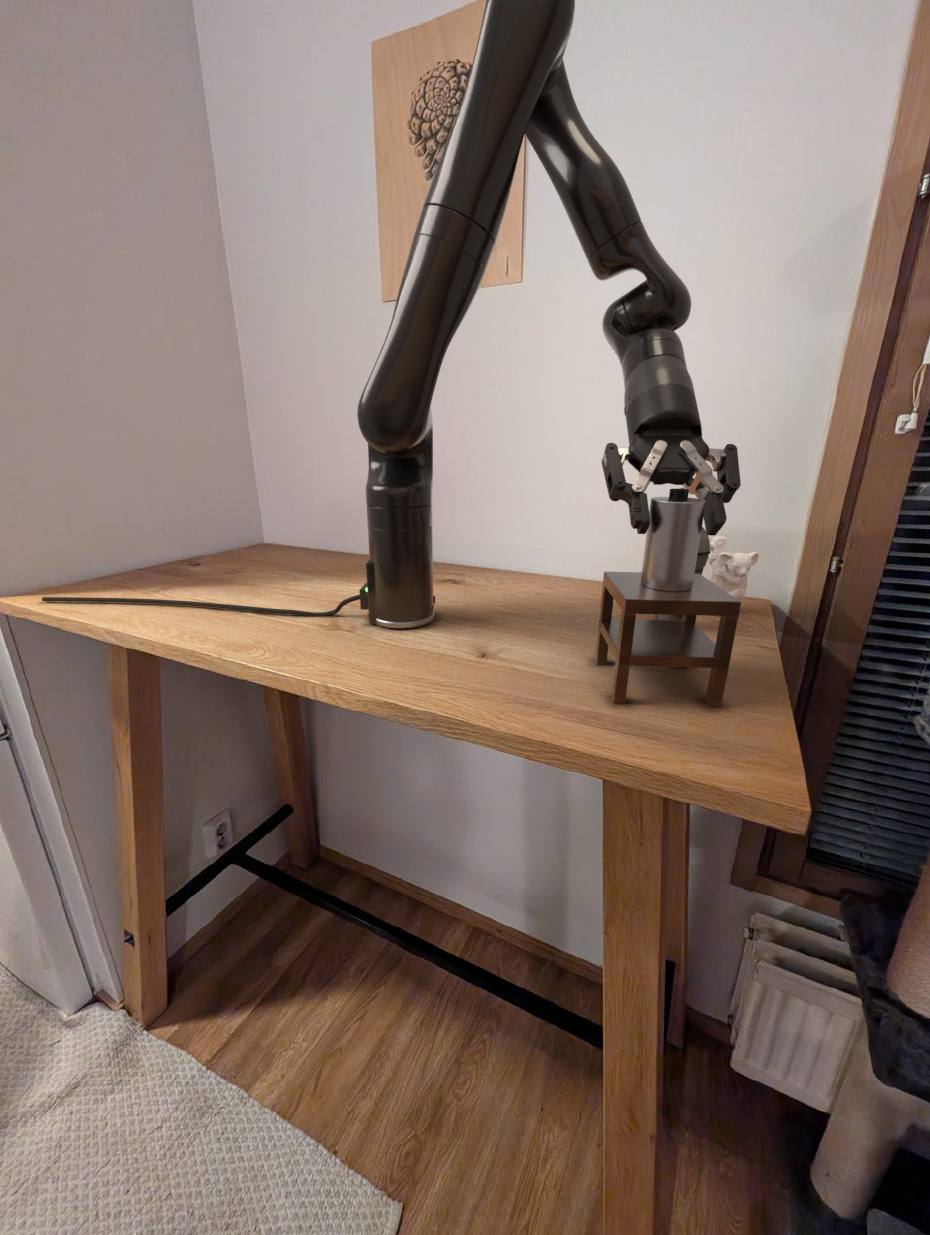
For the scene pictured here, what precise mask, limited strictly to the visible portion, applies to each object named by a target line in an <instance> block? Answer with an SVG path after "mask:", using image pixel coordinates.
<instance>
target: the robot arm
mask: <svg viewBox="0 0 930 1235" xmlns="http://www.w3.org/2000/svg"><path fill="white" fill-rule="evenodd" d="M575 12H576V0H485V7H484V10H483V15H482V20H481V25H480V29H479V34H478V39H477V42H476V47H475V51H474V56H473V59H472V60H473V61H472V63H471V68H470V72H469V76H468V79H467V83H466V87H465V90H464V94H463V97H462V100H461V102H460V103H461V104H460V106H459V107H458V108H459V109H458V112H457V114H456V117H455V119H454V122H453V124H452V127H451V129H450V132H449V134H448V137H447V139H446V142H445V144H444V147H443V150H442V151H441V154H440V157H439V160H438V163H437V166H436V169H435V171H434V174H433V177H432V180H431V183H430V185H429V188H428V191H427V195H426V196H425V199H424V203H423V205H422V209H421V211H420V215H419V217H418V221H417V224H416V227H415V230H414V234H413V237H412V240H411V243H410V248H409V251H408V255H407V259H406V262H405V266H404V269H403V273H402V277H401V281H400V284H399V287H398V293H397V296H396V301H395V305H394V309H393V314H392V318H391V322H390V324H389V327H388V331H387V334H386V336H385V339H384V342H383V343H382V346H381V349H380V351H379V353H378V356H377V358H376V361H375V363H374V364H373V368H372V370H371V372H370V374H369V377H368V379H367V381H366V383H365V386H364V388H363V390H362V392H361V395H360V398H359V400H358V404H357V412H356V413H357V414H356V417H357V424H358V428H359V430H360V433H361V435H362V437H363V439H364V440H365V441H366V442H367V457H368V469H367V479H366V483H365V503H366V518H367V519H366V520H367V521H366V523H367V537H368V539H367V540H368V554H369V555H368V557H369V558H368V559H366V561H365V573H366V582H365V583H364V584H363V585H362V586H361V587H360V589H359V594H357V595H354V596H350V597H348V598H345V599H344V600H342V601H341V602H339V603H338V605H337V606H336V607H335V608H334V609H332V610H329V611H323V612H315V611H314V612H312V611H305V610H296V609H287V608H286V609H283V608H272V607H260V606H250V605H239V604H229V603H227V604H226V603H216V602H203V601H191V600H190V601H189V600H175V599H161V598H160V599H158V598H157V599H156V598H136V597H135V598H134V597H133V598H132V597H87V596H85V597H83V596H79V597H78V596H42V597H41V601H42V602H63V603H64V602H65V603H66V602H68V603H69V602H71V603H72V602H77V603H78V602H79V603H85V602H86V603H123V604H124V603H127V604H128V603H129V604H153V605H154V604H155V605H156V604H157V605H172V606H188V607H200V608H201V607H202V608H211V609H212V608H213V609H225V610H234V611H235V610H236V611H246V612H256V613H257V612H258V613H266V614H276V615H277V614H278V615H292V616H302V617H313V618H314V617H320V618H321V617H331V616H334V615H337V614H338V613H339V612H340V611H341V610H342V609H343V607H345V606H346V605H347V604H350V603H353V602H355V601H359V604H360V605H359V606H360V610H368V624H369V625H376V626H380V627H383V628H387V629H401V630H403V629H413V628H419V627H423V626H426V625H428V624H430V623H432V622H433V621H434V620H435V610H434V609H435V605H436V596H435V595H434V543H433V542H434V540H433V539H434V538H433V536H434V533H433V532H434V530H433V484H434V423H433V422H434V421H433V411H432V408H431V406H432V403H433V402H432V401H433V397H434V393H435V390H436V386H437V382H438V378H439V374H440V371H441V369H442V365H443V361H444V359H445V356H446V353H447V351H448V349H449V347H450V344H451V342H452V341H453V338H454V337H455V335H456V333H457V331H458V330H459V328H460V326H461V324H462V322H463V321H464V319H465V317H466V315H467V313H468V311H469V310H470V308H471V305H472V303H473V301H474V300H475V297H476V296H477V294H478V291H479V288H480V286H481V283H482V281H483V279H484V276H485V273H486V271H487V268H488V266H489V263H490V260H491V257H492V254H493V251H494V249H495V246H496V244H497V240H498V237H499V234H500V231H501V228H502V224H503V221H504V217H505V215H506V214H505V213H506V209H507V206H508V202H509V199H510V194H511V191H512V187H513V182H514V177H515V173H516V170H517V165H518V162H519V157H520V153H521V149H522V145H523V141H524V137H526V139H527V141H528V142H529V144H530V146H531V147H532V149H533V151H534V153H535V154H536V156H537V158H538V159H539V161H540V163H541V165H542V167H543V168H544V170H545V172H546V174H547V175H548V177H549V180H550V181H551V184H552V185H553V188H554V190H555V191H556V194H557V195H558V197H559V200H560V202H561V204H562V206H563V208H564V211H565V213H566V215H567V217H568V220H569V222H570V224H571V226H572V229H573V231H574V233H575V236H576V238H577V240H578V243H579V245H580V247H581V250H582V251H583V254H584V256H585V259H586V260H587V263H588V265H589V267H590V270H591V271H592V274H593V275H594V277H595V278H596V279H597V280H598V281H608V280H611V279H613V278H615V277H618V276H619V275H622V274H624V273H626V272H630V271H636V272H639V273H640V274H642V275H643V276H644V278H645V280H644V281H642V282H641V283H639V284H638V285H636V286H635V287H633V288H632V289H630V290H629V291H627V292H625V294H624V295H622V296H620V297H619V298H617V299H616V300H614V301H613V302H612V303H611V304H610V305H609V306H608V307H607V309H606V310H605V312H604V315H603V318H602V322H601V323H602V324H601V327H602V332H603V335H604V338H605V339H606V342H607V344H608V345H609V346H610V348H611V350H612V351H613V353H614V354H615V355H616V356H617V359H618V362H619V364H620V365H621V366H620V367H621V370H622V376H623V377H622V378H623V384H624V385H623V386H624V394H623V395H624V396H623V404H624V405H623V406H624V408H623V411H624V417H625V421H626V428H627V438H628V447H618V445H617V444H616V443H614V442H608V443H607V444H606V445H605V448H604V452H603V455H602V458H601V466H602V471H603V475H604V480H605V484H606V490H607V494H608V497H609V499H610V500H611V502H619V501H623V502H625V503H626V504H627V506H628V513H629V522H630V526H631V528H632V529H633V530H636V532H637V535H646V534H647V530H648V528H649V525H650V515H649V510H650V506H649V500H648V493H647V492H646V491H647V489H648V488H649V485H650V484H651V483H652V484H653V485H654V486H656V485H657V486H659V485H660V486H662V485H666V484H669V485H674V486H683V488H684V489H688V490H689V494H690V495H694V496H695V498H697V499H702V500H705V501H706V504H705V511H704V517H703V522H704V529H705V531H706V533H707V535H708V536H717V534H718V532H720V531H721V530H722V528H723V527H724V525H725V524H726V522H727V512H726V508H725V507H726V506H725V504H729V503H730V502H731V501H732V499H733V497H734V495H735V494H736V492H737V491H738V490H739V488H740V487H741V485H742V482H741V472H740V465H739V464H740V463H739V462H740V461H739V453H738V447H737V445H735V444H733V443H727V444H726V445H725V446H724V448H723V449H722V448H710V446H709V445H708V444H707V443H706V441H705V440H704V439H703V428H702V422H701V417H700V412H699V407H698V404H697V403H698V402H697V397H696V392H695V388H694V383H693V379H692V377H691V375H690V372H689V370H688V367H687V360H686V356H685V352H684V346H683V343H682V340H681V338H680V336H679V335H678V334H677V332H676V331H677V330H679V329H680V328H682V327H683V326H685V324H687V322H688V320H689V318H690V315H691V310H692V298H691V294H690V292H689V289H688V287H687V285H686V284H685V283H684V281H683V280H682V278H681V277H680V276H679V275H678V273H676V272H675V270H674V269H673V268H672V267H671V266H670V264H668V262H667V261H666V260H665V258H664V257H663V256H662V255H661V253H660V252H659V251H658V249H657V248H656V246H655V245H654V243H653V241H652V240H651V237H650V236H649V233H648V232H647V230H646V227H645V225H644V222H643V221H642V218H641V215H640V213H639V211H638V208H637V205H636V203H635V201H634V198H633V196H632V195H633V194H632V192H631V191H630V187H629V186H628V183H627V182H626V179H625V178H624V175H623V174H622V172H621V170H620V169H619V167H618V165H617V164H616V163H615V161H614V160H613V158H612V157H611V156H610V155H609V153H608V152H607V151H606V149H605V148H604V147H603V146H602V145H601V144H600V143H599V141H598V140H597V139H596V138H595V136H594V135H593V133H592V132H591V131H590V129H589V127H588V126H587V124H586V122H585V120H584V118H583V117H582V115H581V112H580V111H579V108H578V105H577V103H576V100H575V98H574V96H573V92H572V89H571V85H570V81H569V77H568V74H567V70H566V66H565V62H564V55H565V52H566V49H567V46H568V42H569V39H570V37H571V32H572V29H573V25H574V18H575ZM625 461H627V462H628V463H629V464H630V465H631V466H632V467H633V468H634V469H635V471H637V472H638V475H637V477H636V479H635V480H634V482H633V483H630V482H627V481H626V476H625V473H624V468H623V467H624V464H625ZM708 462H709V463H710V464H711V465H710V464H709V463H708ZM713 472H715V473H716V477H717V478H716V477H715V475H714V474H713Z"/></svg>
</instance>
